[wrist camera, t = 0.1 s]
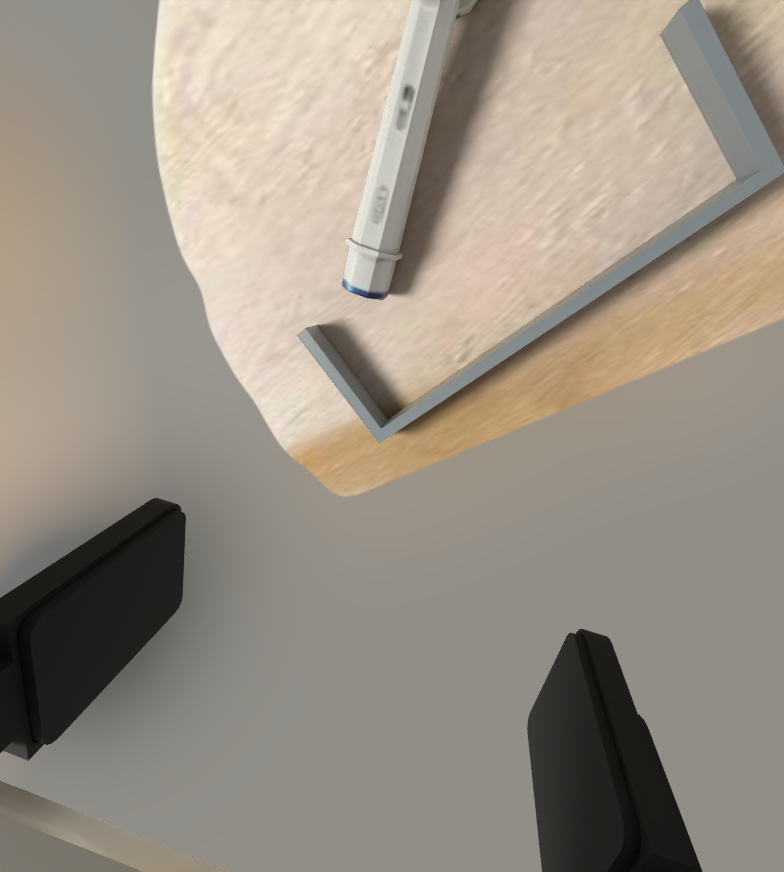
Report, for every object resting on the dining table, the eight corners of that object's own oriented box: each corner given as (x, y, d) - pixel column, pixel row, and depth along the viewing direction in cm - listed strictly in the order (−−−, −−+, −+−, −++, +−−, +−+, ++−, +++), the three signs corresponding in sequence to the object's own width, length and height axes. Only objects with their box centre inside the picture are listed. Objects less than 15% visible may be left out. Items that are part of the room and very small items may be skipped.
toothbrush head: (327, 284, 35) (420, -191, 23) (352, 275, 41) (437, -109, 28) (387, 306, 35) (515, -166, 22) (404, 293, 40) (513, -88, 28)
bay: (675, 22, 29) (696, -6, 26) (758, 181, 30) (786, 171, 28) (309, 331, 40) (296, 335, 38) (385, 432, 42) (379, 443, 39)
